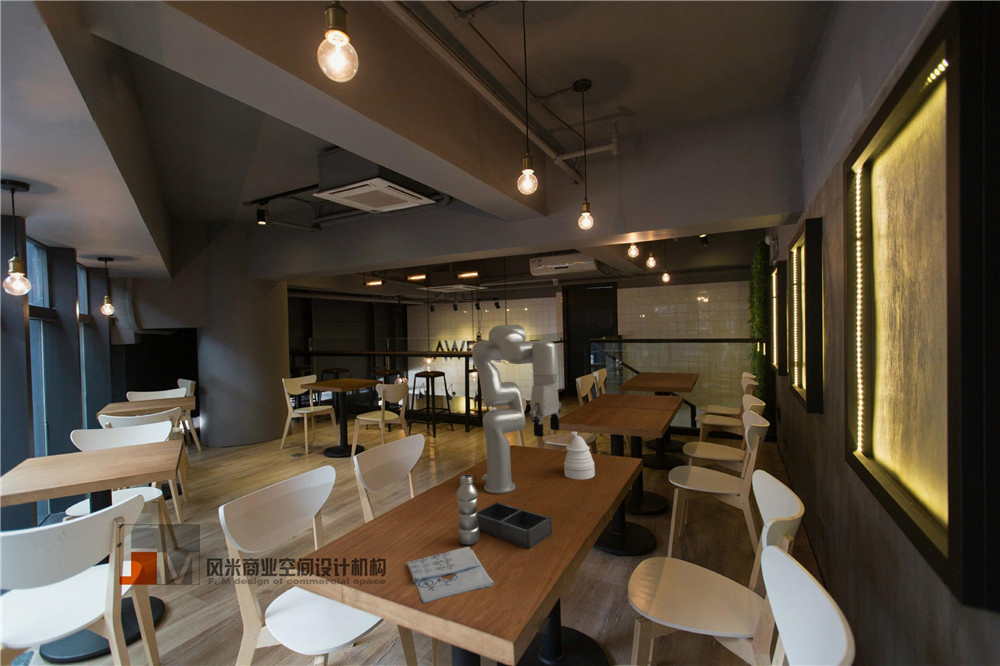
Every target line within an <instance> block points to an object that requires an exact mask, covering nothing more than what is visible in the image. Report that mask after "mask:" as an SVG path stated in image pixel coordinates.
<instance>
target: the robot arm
mask: <svg viewBox="0 0 1000 666" xmlns="http://www.w3.org/2000/svg"><path fill="white" fill-rule="evenodd" d="M526 339H527V332H526V330H525V329H524V327H523V326H522V325H519V324H500V325H499V324H498V325H495V326H493V327H491V329H490V330H489V331H488V339H485V340H480V341H478V342H476V343H474V344H473V346H472V351H471V355H472V360H473V364H474V366H475V369H476V371H477V373H478V378H479V384H480V390H481V396H482V401H483V403H484V406H486V407H501V406H508V407H505V408H499V409H498V408H497V409H492V410H489V411H487V412H486V413H484V415H483V417H482V426H483V429H484V436H485V447H486V467H487V468H486V470H487V473H484V474H483V476H481V480H482V481H485V484H484V486H483V488H484V490H485V491H486V492H488V493H490V494H505V493H510V492H512V491H514V490H515V489H516V483H515V482H513V481H512V466H511V462H512V461H511V446H510V441H509V440H508V439H507V437H506V436H505V435H504V434H506V433H512V432H519V431H521V430H523V429H524V428H525V426H526V415H525V409H524V408H525V407H524V402H523V398H522V393H521V390H520V387H519V385H518V384H517V383H516V382H515V381H502V380H501V374H500V370H499V369H498V368H497V367H496V365H495V364H494V363H492V362H491V361H503V360H504V361H506V362H508V363H510V364H513V365H526V364H532V379H533V380H532V384H533V385H532V387H531V397H530V398H531V399H530V400H531V401H530V403H531V405H530V407H531V408H530V410H529V415H530V420H531V421H532V424H533V436H535V437H540V438H543V437H544V423H543V420H544V418H546V417H549V416H550V417H549V427H550V428H549V429H550V430H551V431H559V430H560V428H561V426H560V417H561V411H562V410H561V408H562V402H561V401H559V392H558V391H559V390H558V386H557V385H558V383H557V381H558V380H557V379H558V378H557V360H556V359H557V357H556V344H555V342H553V341H543V340H526Z"/></svg>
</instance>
